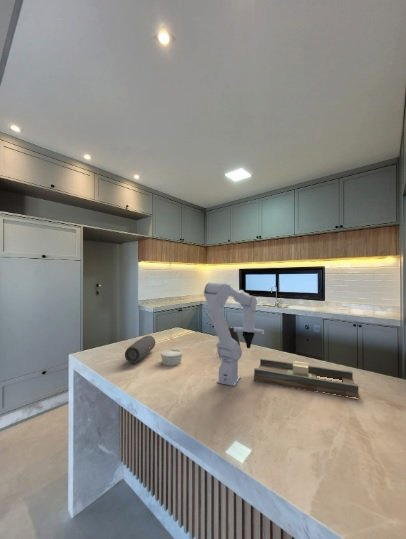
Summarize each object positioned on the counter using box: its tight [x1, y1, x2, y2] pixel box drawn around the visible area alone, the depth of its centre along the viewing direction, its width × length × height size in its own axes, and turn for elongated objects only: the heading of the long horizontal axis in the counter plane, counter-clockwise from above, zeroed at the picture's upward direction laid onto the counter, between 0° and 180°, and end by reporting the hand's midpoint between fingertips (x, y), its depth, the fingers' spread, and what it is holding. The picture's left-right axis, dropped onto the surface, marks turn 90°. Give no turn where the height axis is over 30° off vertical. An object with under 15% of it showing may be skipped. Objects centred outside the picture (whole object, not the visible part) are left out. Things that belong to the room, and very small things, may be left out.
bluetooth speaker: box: [124, 335, 157, 364], centre depth 133 cm, size 23×9×10 cm, turn 171°
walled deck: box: [253, 358, 360, 399], centre depth 105 cm, size 17×39×4 cm, turn 66°
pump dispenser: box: [228, 326, 241, 347], centre depth 142 cm, size 10×10×15 cm
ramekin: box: [160, 349, 184, 367], centre depth 127 cm, size 11×11×5 cm
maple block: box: [292, 360, 309, 377], centre depth 105 cm, size 6×6×5 cm
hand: (248, 347), depth 118 cm, fingers closed
